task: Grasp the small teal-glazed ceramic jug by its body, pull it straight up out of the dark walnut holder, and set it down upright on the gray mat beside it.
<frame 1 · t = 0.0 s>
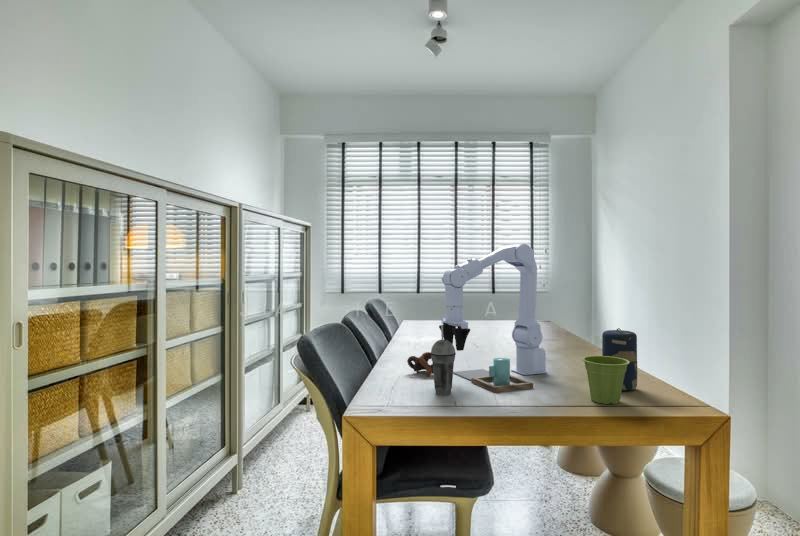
hand: (454, 348, 162), 10 cm above the table, fingers open, 7 cm apart
beverage cup: (443, 394, 145), on the table
canister: (619, 389, 150), on the table
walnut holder: (501, 385, 154), on the table
teal jug: (499, 372, 154), in the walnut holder
gray mat: (476, 375, 168), on the table
plant pot: (605, 401, 136), on the table
brown looped knot: (424, 374, 171), on the table
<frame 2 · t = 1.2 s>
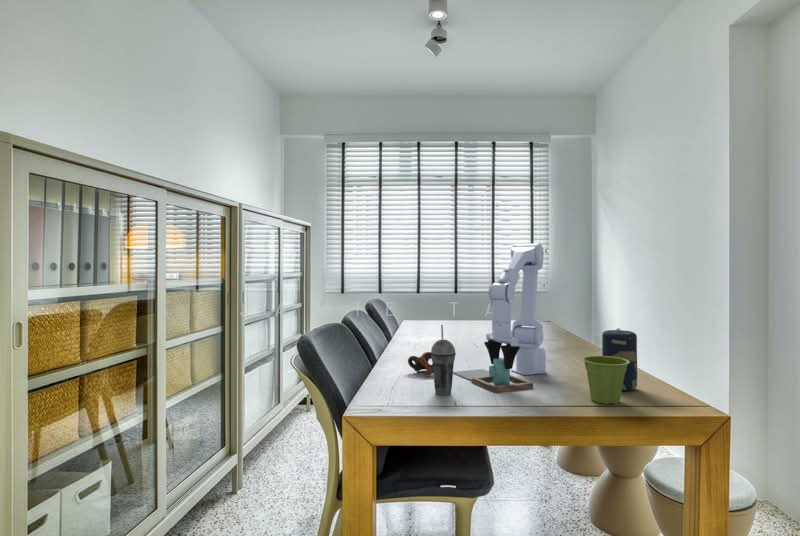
hand: (501, 366, 154), 6 cm above the table, fingers open, 7 cm apart
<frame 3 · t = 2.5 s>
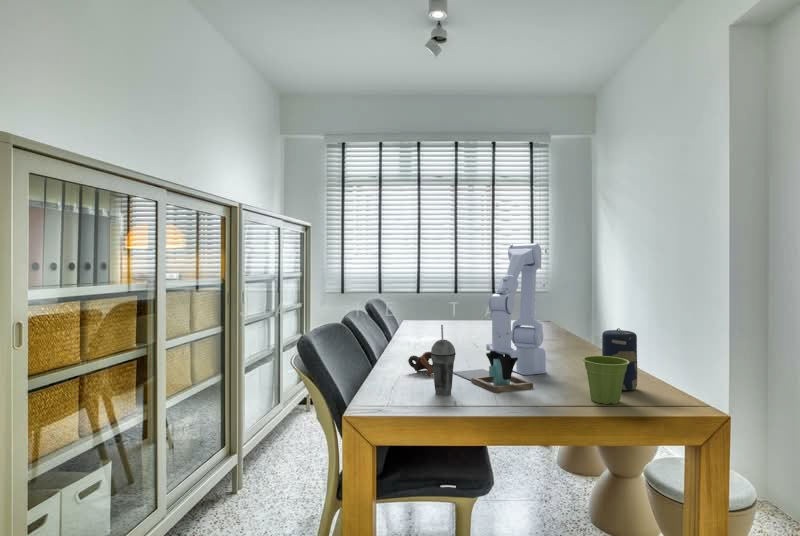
hand: (501, 377, 154), 2 cm above the table, fingers closed on teal jug, 5 cm apart
teal jug: (499, 372, 154), in the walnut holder, touching gripper
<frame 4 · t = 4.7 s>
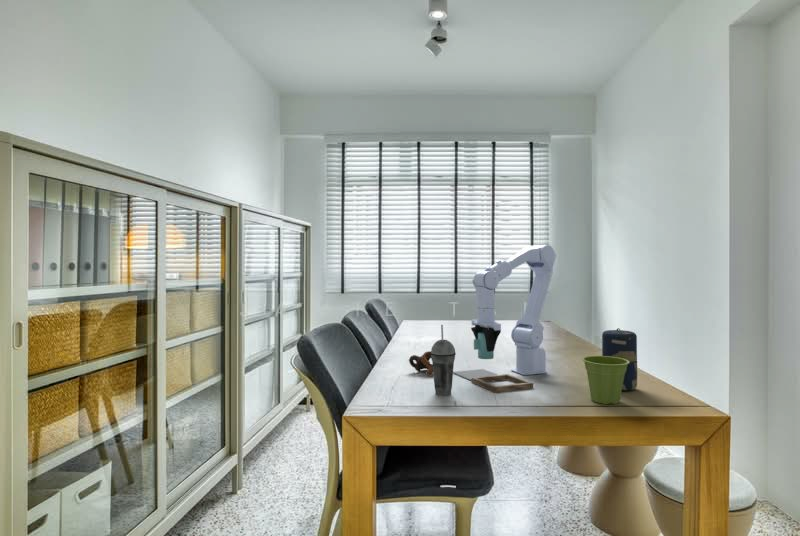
hand: (485, 349, 163), 9 cm above the table, fingers closed on teal jug, 5 cm apart
teal jug: (483, 345, 163), point 11 cm above the table, touching gripper
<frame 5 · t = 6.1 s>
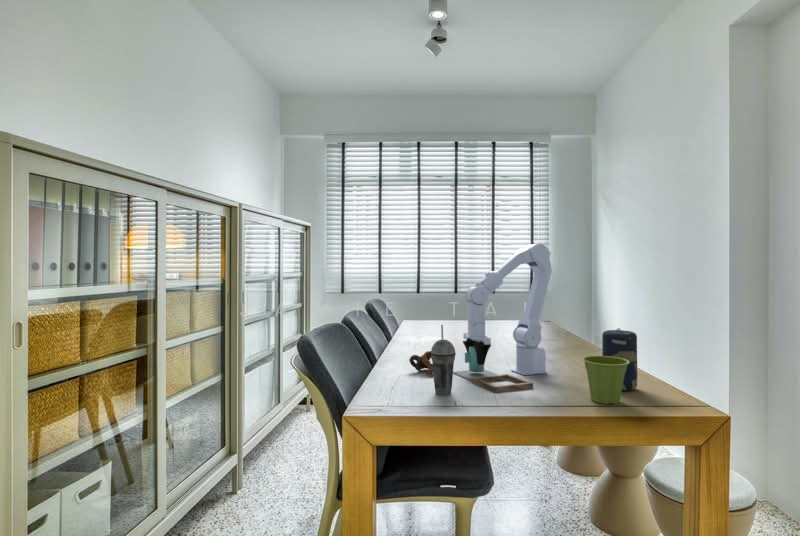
hand: (476, 363, 168), 4 cm above the table, fingers closed on teal jug, 5 cm apart
teal jug: (474, 358, 168), point 6 cm above the table, touching gripper
when the fingers open (4 cm above the table, at t = 7.0 s): teal jug stays where it is, resting on gray mat.
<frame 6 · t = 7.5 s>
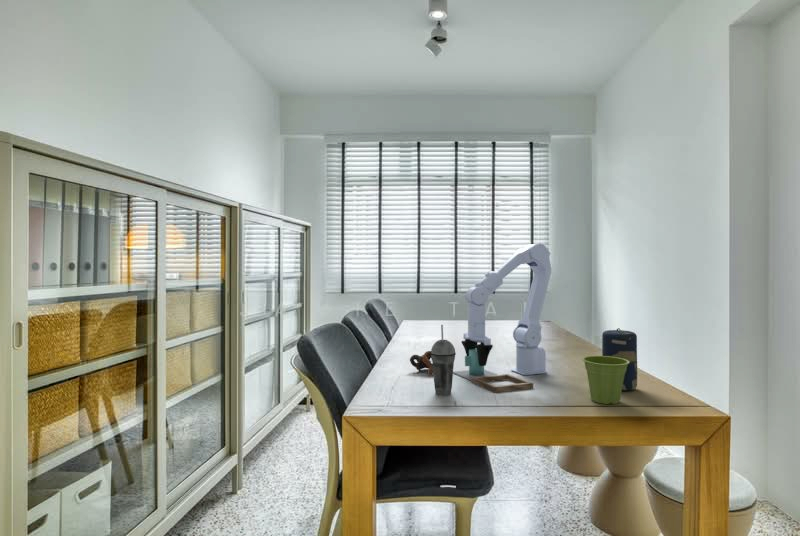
hand: (476, 363, 168), 4 cm above the table, fingers open, 7 cm apart
teal jug: (474, 362, 168), on the gray mat
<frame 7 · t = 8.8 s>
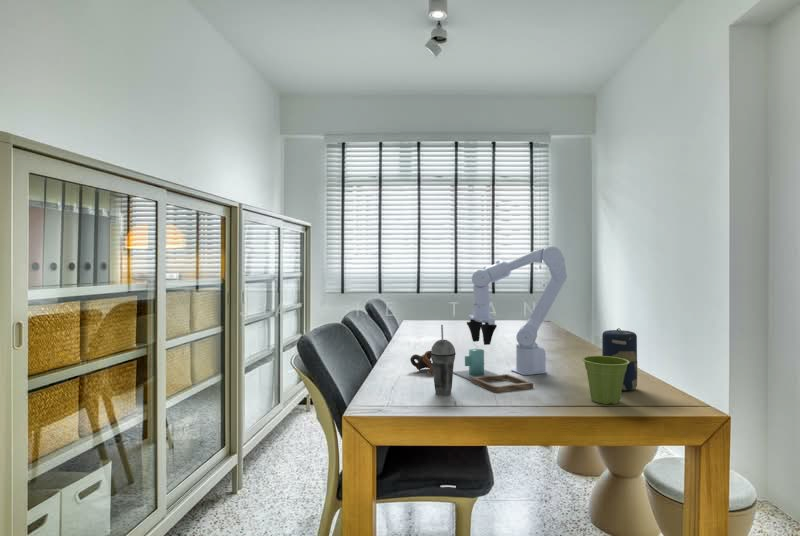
hand: (481, 342, 177), 9 cm above the table, fingers open, 7 cm apart
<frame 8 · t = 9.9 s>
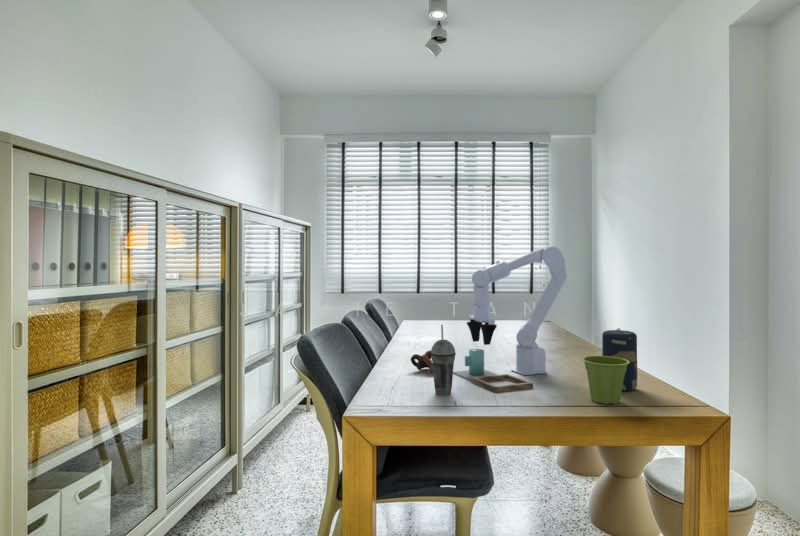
hand: (481, 342, 177), 9 cm above the table, fingers open, 7 cm apart
at the end: teal jug inside the target area on the gray mat (0.1 cm from its centre), point 4.4 cm above the gray mat's base; teal jug tilted 0°; the gripper is holding nothing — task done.
